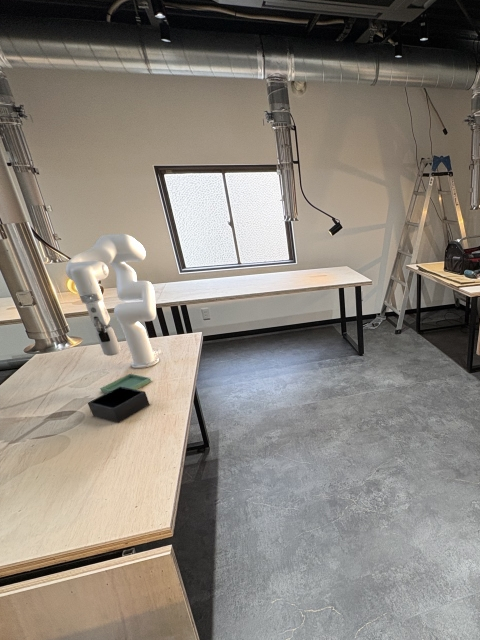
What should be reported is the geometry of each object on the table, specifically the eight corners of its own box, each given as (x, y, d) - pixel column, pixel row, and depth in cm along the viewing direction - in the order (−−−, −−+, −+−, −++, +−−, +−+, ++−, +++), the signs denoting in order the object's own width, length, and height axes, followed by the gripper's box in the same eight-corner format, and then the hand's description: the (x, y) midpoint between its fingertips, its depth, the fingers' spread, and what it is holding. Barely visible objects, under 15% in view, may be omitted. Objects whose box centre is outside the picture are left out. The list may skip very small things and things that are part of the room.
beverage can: (113, 356, 174) (103, 330, 168) (100, 356, 175) (90, 329, 169) (124, 350, 179) (115, 324, 174) (112, 349, 180) (102, 324, 175)
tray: (131, 377, 196) (129, 373, 196) (151, 381, 192) (150, 377, 191) (101, 392, 184) (100, 388, 183) (122, 396, 180) (120, 392, 179)
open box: (125, 399, 178) (120, 386, 175) (149, 404, 173) (145, 391, 170) (93, 416, 166) (87, 402, 163) (118, 423, 161) (113, 409, 158)
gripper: (98, 301, 160) (114, 344, 168) (105, 290, 174) (120, 330, 182) (76, 304, 157) (93, 347, 166) (85, 293, 171) (100, 333, 180)
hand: (107, 338), depth 174 cm, fingers closed on beverage can, 6 cm apart
